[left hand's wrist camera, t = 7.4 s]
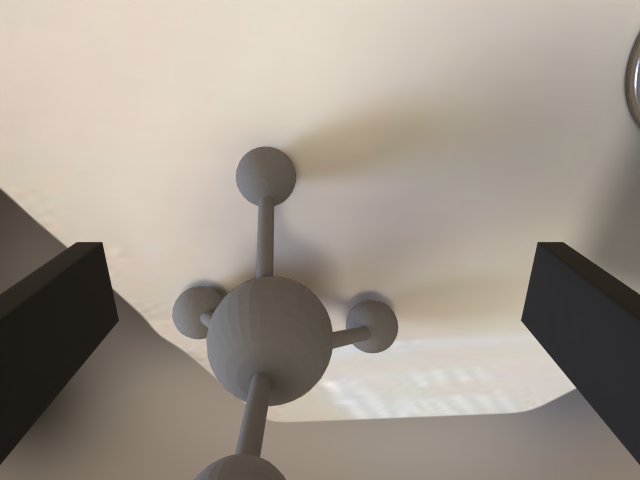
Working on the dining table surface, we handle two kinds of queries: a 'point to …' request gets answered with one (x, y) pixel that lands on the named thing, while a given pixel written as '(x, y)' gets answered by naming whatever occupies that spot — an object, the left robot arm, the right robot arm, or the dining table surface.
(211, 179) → the dining table surface
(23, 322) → the left robot arm
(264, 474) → the molecular model
